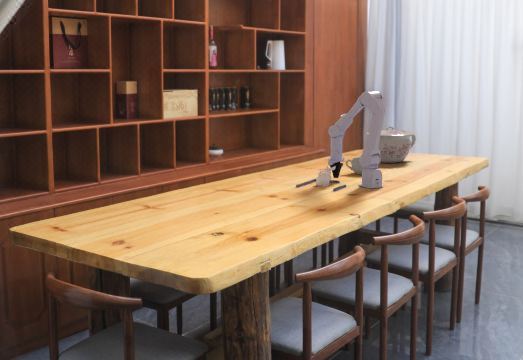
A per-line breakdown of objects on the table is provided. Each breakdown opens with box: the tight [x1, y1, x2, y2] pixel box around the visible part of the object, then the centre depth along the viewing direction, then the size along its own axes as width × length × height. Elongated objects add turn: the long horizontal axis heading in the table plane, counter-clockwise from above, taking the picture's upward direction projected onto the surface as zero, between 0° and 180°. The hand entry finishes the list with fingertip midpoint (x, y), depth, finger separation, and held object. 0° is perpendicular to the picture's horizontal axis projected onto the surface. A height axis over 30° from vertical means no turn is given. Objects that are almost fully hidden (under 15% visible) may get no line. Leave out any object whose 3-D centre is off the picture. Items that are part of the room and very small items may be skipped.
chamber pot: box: [365, 125, 417, 164], centre depth 385 cm, size 28×28×21 cm
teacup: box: [345, 156, 362, 176], centre depth 344 cm, size 14×11×8 cm
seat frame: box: [295, 178, 347, 192], centre depth 311 cm, size 20×21×1 cm
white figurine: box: [315, 165, 335, 187], centre depth 312 cm, size 12×8×10 cm, turn 135°
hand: (336, 177), depth 321 cm, fingers closed
